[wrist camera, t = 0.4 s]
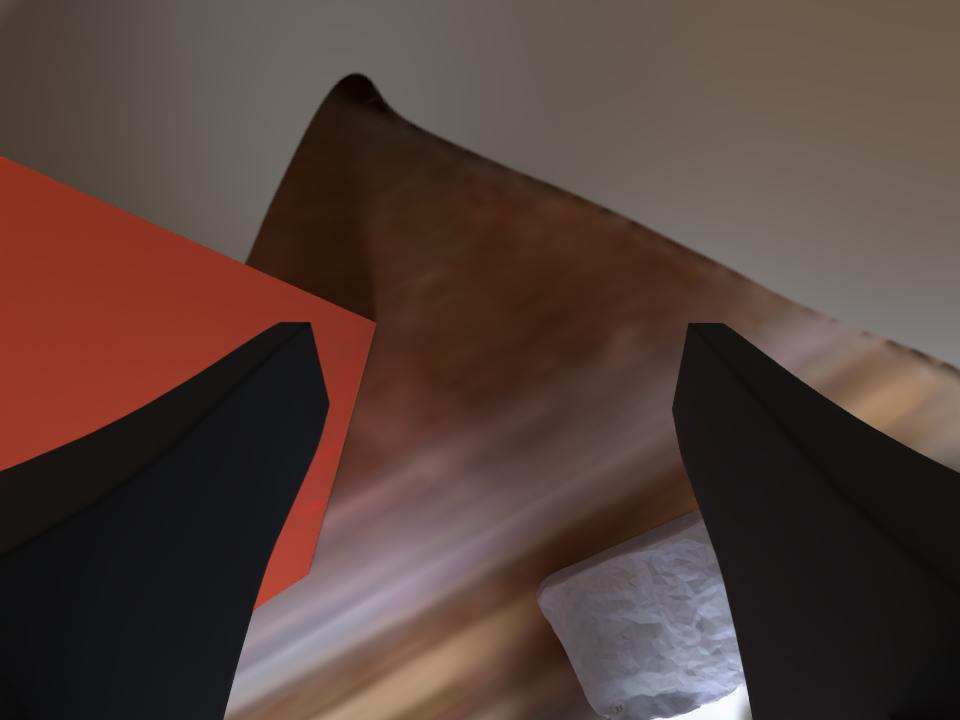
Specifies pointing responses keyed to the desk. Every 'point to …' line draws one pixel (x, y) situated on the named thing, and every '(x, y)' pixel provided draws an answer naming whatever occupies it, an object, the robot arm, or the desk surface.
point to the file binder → (145, 334)
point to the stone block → (647, 623)
